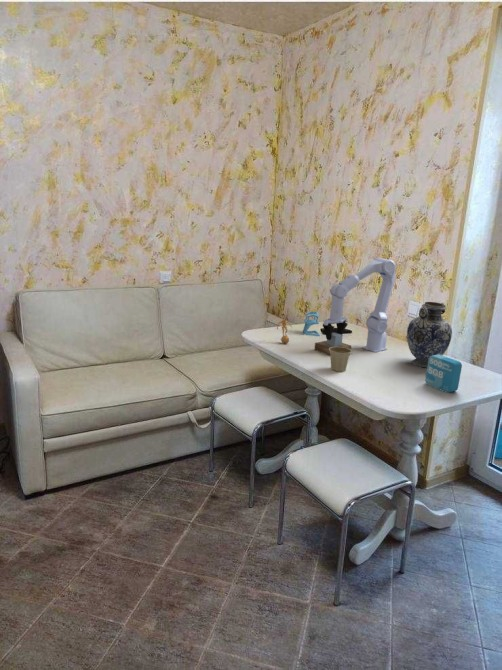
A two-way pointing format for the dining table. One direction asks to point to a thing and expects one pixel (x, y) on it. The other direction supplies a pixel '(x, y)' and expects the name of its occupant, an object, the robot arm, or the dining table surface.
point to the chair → (310, 323)
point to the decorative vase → (428, 333)
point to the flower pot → (339, 358)
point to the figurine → (284, 338)
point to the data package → (443, 373)
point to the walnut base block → (325, 347)
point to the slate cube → (335, 339)
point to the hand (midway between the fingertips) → (333, 338)
